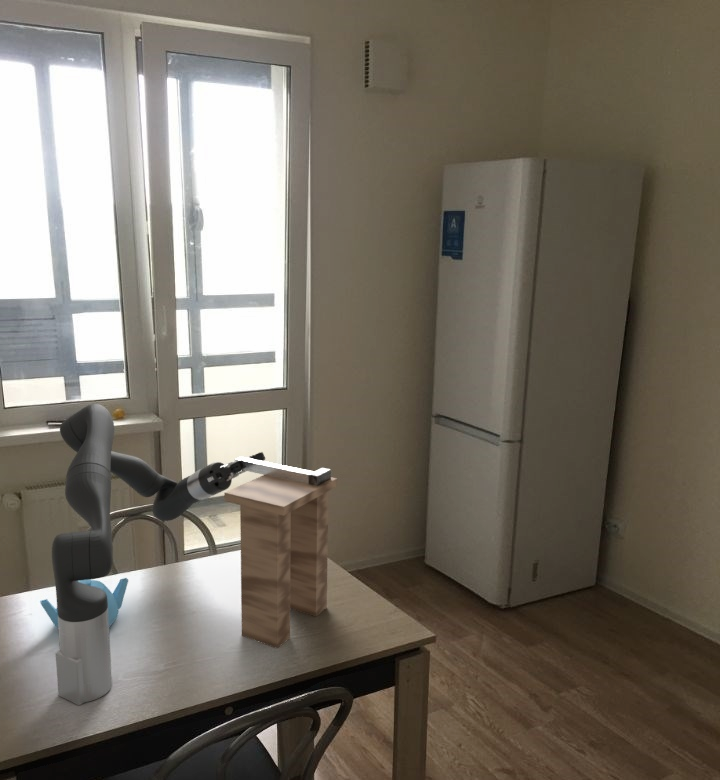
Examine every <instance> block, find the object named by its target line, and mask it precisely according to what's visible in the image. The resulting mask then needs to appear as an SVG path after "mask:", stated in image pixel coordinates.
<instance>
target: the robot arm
mask: <svg viewBox="0 0 720 780" xmlns="http://www.w3.org/2000/svg"><path fill="white" fill-rule="evenodd" d="M59 433H60V435H61V438H62V440H63V442H65V444H66V445H67V447H69V448H70V449H72V450H73V452H76V454H75V455H74V457H73V459H72V460H71V462H70V465H69V466H68V468H67V472H66V475H65V489H64V496H65V499H66V501H67V503H68V504H69V505H68V506H70V508H71V509H72V510H74V512H75V513H76V514H78V516H80V517H81V518H82V519H83V520H84V521H85V522H86V523H87V524H88V526H89V527H90V528H91V530H84V531H82V530H81V531H72V532H64V533H59V534H57V535H55V537H54V539H53V541H52V544H51V563H52V570H53V571H52V572H53V577H54V584H55V597H56V609H57V614H58V627H59V628H58V627H57V628H58V640H59V650H57V651H56V652H55V662H56V663H55V664H56V678H57V694H58V696H59V697H60V698H63V699H65V700H67V701H69V702H71V703H73V704H76V705H78V706H81V705H82V704H84V703H87V702H91V701H92V702H93V701H95V700H97V699H99V698H101V697H103V696H105V695H106V694H107V693H108V692H109V691H110V690H111V689H112V686H113V684H112V683H113V679H112V678H113V677H112V664H111V663H112V660H111V644H110V643H111V640H110V627H109V618H108V600H107V595H106V593H105V592H104V591H103V590H102V589H100V588H98V587H94V586H89V585H86V584H83V583H80V582H78V581H79V580H88V579H90V580H95V579H100V578H105V577H106V576H108V575H109V574H110V573H111V571H112V568H113V563H114V546H113V534H112V532H113V531H112V524H111V523H112V521H111V499H112V498H111V497H112V495H111V494H112V474H113V475H115V476H116V477H118V478H119V479H120V480H122V481H123V482H125V484H127V485H128V486H129V487H130V488H131V489H133V490H134V491H135V492H136V493H138V494H139V495H140V496H141V497H143V498H150V497H153V496H154V495H155V499H154V502H153V504H152V508H151V510H152V514H153V516H154V517H155V518H156V519H157V520H160V521H166V522H169V521H173V520H175V519H177V518H179V517H181V516H182V515H183V514H184V513H185V512H186V511H187V510H188V509H189V508H191V506H192V505H194V504H195V503H198V502H201V501H202V500H205V499H208V498H211V497H213V496H215V495H217V494H220V493H222V492H224V491H226V490H228V489H229V488H230V486H231V485H232V480H233V479H235V478H237V477H239V475H241V474H243V473H246V472H247V471H245V470H242V469H244V468H246V465H245V463H244V461H243V460H240V461H238V462H235V461H231V462H228V463H226V464H224V463H222V462H220V461H214V462H212V463H210V464H207V465H206V466H204V467H202V468H200V469H198V470H196V471H195V472H193V473H192V474H190V475H188V476H186V477H184V478H182V479H180V481H178V482H177V481H175V480H173V479H172V478H171V479H170V478H168V477H166V476H164V475H162V474H161V473H158V472H157V471H156V470H155V469H154V468H153V467H152V466H151V465H149V464H148V463H147V462H146V461H145V460H143V459H141V458H140V457H137V456H135V455H130V454H126V453H121V452H116V451H113V450H112V448H113V442H114V438H115V437H114V436H115V423H114V419H113V417H112V415H111V413H110V411H109V410H108V409H107V407H104V405H101V404H99V403H91V404H89V405H85V406H84V407H83V408H81V409H80V410H78V411H77V412H74V413H73V414H72V415H70V416H69V417H68V418H66V419H65V420H63V421H62V422H61V424H60V426H59ZM248 458H250V459H255V460H260V461H265V460H266V457H265V454H264V452H263V451H260V452H258V453H256V454H252V455H249V456H248Z"/></svg>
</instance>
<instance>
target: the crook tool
mask: <svg viewBox="0 0 720 780" xmlns="http://www.w3.org/2000/svg"><path fill="white" fill-rule="evenodd" d="M240 460H243V461H244V463H245V465H246V468H244V469H242V470H245V471H246V472H250V473H255V474H259V475H262V476H263V475H268V476H272V477H277V478H282V479H286V480H291V481H295V482H300V483H305V484H309V485H314V486H319V485H321V484H322V483H324V482H326V481H328V480H330V479H331V477H332V469H330V468H325V467H320V468H319V469H317V470H315V471H313V470H309V469H303V468H299V467H293V466H288V465H284V464H283V465H282V464H278V463H273V462H269V461H265V460H264V461H260V460H255V459H250V458H249V457H244V456H239V457H237V458H235V459H234V462H238V461H240ZM242 470H241V471H242Z"/></svg>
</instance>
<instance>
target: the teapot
mask: <svg viewBox="0 0 720 780" xmlns="http://www.w3.org/2000/svg"><path fill="white" fill-rule="evenodd" d="M78 582H80V583H83V584H86V585H89V586H94V587H98V588H100V589H102V590H103V591H104V592H105V593H106V595H107V600H108V618H109V626H110V627H111V625H113V623H114V622H115V621H116V619H117V618H118V616H119V612H120V611H119V609H121V608H122V606H123V601H124V598H125V594H126V590H127V587H128V583H129V579H128V578H127V577H123V578H120V580H119V582H118V583H117V585H116V586H115V589H114V590H113V592H112V591H111V590H110V589H109V587H108V586H106V584H104V583H103V582H101V581H100V580H95V579H88V580H79V581H78ZM39 603H40V605H41V606H42V608H43V609H44V612H45V613H46V614H47V616H48V617H49V619H50V621H51V622H52V623H53V625H54V627H57V628H58V629H59V627H58V614H57V608H55V607H54V605H53V604H52V603H51V602H49V600H48V598H45V599H42V600H40V601H39Z"/></svg>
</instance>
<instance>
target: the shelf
mask: <svg viewBox="0 0 720 780" xmlns="http://www.w3.org/2000/svg"><path fill="white" fill-rule="evenodd" d="M337 486H338V478H337V477H332V476H331V479H330V480H328V481H326V482H324V483H322V484H321V485H319V486H314V485H309V484H305V483H300V482H295V481H291V480H286V479H282V478H277V477H272V476H268V475H263V474H262V475H261V476H259V477H256V478H255V479H252V480H249V481H246V482H245V483H243V484H240V485H239V486H236V487H234V488H232V489H230V490H227V491H226V492H224V502H226V503H231V504H233V505H234V504H235V505H239V509H240V510H239V511H240V513H239V515H240V524H239V525H240V581H241V582H240V592H241V593H240V595H241V596H240V599H241V600H240V601H241V605H240V606H241V607H240V609H241V615H240V616H241V636H242V637H245V638H247V639H250V640H252V641H255V640H256V641H255V642H258V641H259V642H258V643H261V642H262V644H264V643H265V645H267V644H268V645H267V646H269V645H271V647H272V646H274V647H273V648H275V647H276V648H275V649H278V648H279V647H281V646H282V645H283V644H284V643H286V642H287V641H288V640H290V638H291V610H294V611H297V612H299V613H303V614H307V615H309V614H310V616H312V615H313V617H315V616H316V617H318V616H319V615H320V614H321V613H322V612H323V611H325V610H326V609H327V607H328V606H327V605H328V552H329V550H328V549H329V547H328V545H329V544H328V543H329V540H328V539H329V496H330V495H329V491H331V490H333V489H335V488H337ZM325 608H326V609H325ZM324 609H325V610H324ZM319 613H320V614H319ZM318 614H319V615H318ZM286 640H287V641H286ZM285 641H286V642H285ZM281 644H282V645H281ZM280 645H281V646H280Z"/></svg>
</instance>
